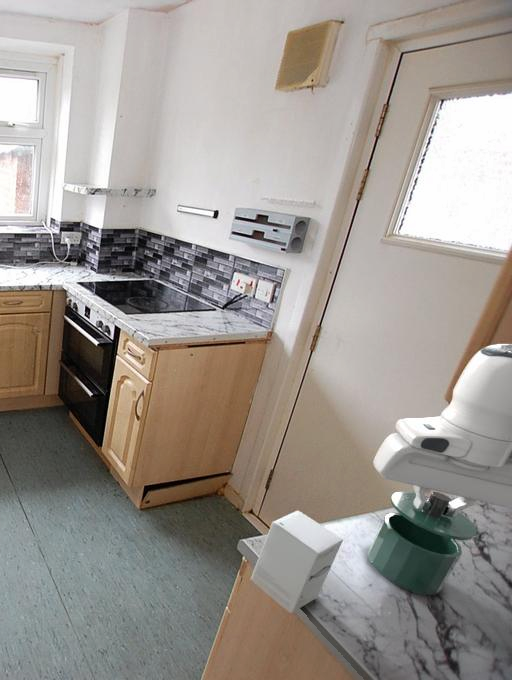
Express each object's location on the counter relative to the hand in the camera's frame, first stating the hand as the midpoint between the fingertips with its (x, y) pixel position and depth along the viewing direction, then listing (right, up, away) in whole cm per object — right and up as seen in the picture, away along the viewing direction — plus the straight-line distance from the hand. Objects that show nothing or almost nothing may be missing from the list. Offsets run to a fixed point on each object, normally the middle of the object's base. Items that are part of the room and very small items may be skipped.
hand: (433, 511), depth 77 cm
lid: (0, -1, 0) cm, 1 cm away
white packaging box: (-26, -13, -1) cm, 29 cm away
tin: (-1, -12, +5) cm, 13 cm away
